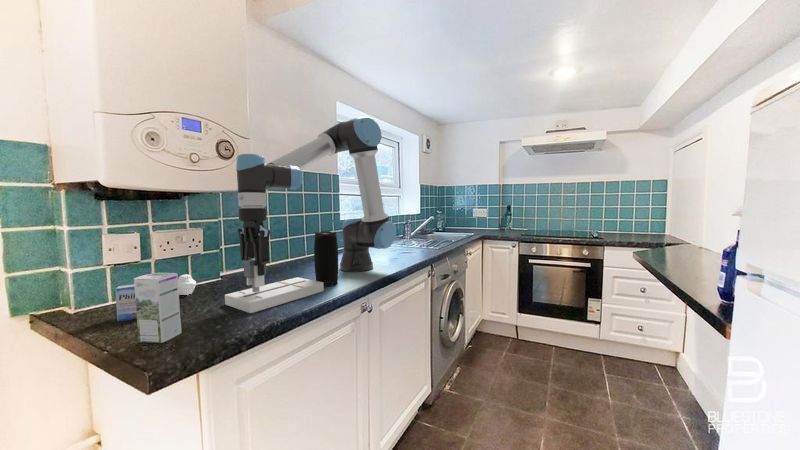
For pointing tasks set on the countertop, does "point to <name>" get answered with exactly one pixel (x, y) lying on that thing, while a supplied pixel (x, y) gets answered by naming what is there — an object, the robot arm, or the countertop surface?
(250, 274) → the fader tab
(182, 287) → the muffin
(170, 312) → the syrup box
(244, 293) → the fader console
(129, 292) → the medicine box
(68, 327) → the countertop surface
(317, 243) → the portable speaker
